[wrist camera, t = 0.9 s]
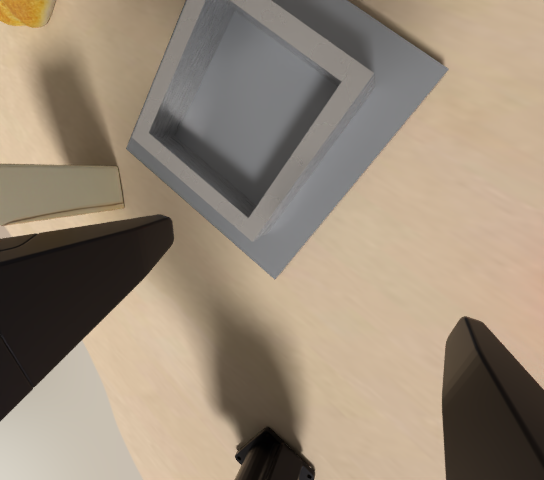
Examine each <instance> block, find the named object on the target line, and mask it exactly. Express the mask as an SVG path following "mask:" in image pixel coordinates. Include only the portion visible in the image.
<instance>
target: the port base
mask: <svg viewBox="0 0 544 480" xmlns="http://www.w3.org/2000/svg"><path fill="white" fill-rule="evenodd" d="M272 1H273V2H274V3H276V4H277V5H279V6H280V7H281V8H283V9H284V10H286V11H287V12H289V13H290V14H291V15H293V16H294V17H296V18H297V19H298V20H300V21H301V22H303V23H304V24H305V25H307V26H308V27H310V28H311V29H312V30H314V31H315V32H317V33H318V34H320V35H321V36H322V37H324V38H325V39H327V40H328V41H329V42H331V43H332V44H334V45H335V46H336V47H338V48H339V49H341V50H342V51H344V52H345V53H346V54H348V55H349V56H351V57H352V58H353V59H355V60H356V61H358V62H359V63H360V64H362V65H363V66H365V67H366V68H368V69H369V70H370V71H372V72H373V73H374V77H375V84H376V88H375V89H374V90H373V92H372V93H371V94H370V96H369V97H368V98H367V100H366V101H365V102H364V104H363V105H362V106H361V108H360V109H359V111H358V112H357V113H356V115H355V116H354V117H353V119H352V120H351V121H350V123H349V124H348V125H347V127H346V128H345V129H344V131H343V132H342V134H341V135H340V136H339V138H338V139H337V140H336V142H335V143H334V144H333V146H332V147H331V148H330V150H329V151H328V152H327V154H326V155H325V157H324V158H323V159H322V161H321V162H320V163H319V165H318V166H317V167H316V169H315V170H314V171H313V173H312V174H311V175H310V177H309V178H308V180H307V181H306V182H305V184H304V185H303V186H302V188H301V189H300V190H299V192H298V193H297V194H296V196H295V197H294V198H293V200H292V201H291V203H290V204H289V205H288V207H287V208H286V209H285V211H284V212H283V213H282V215H281V216H280V217H279V219H278V220H277V221H276V223H275V224H274V226H273V227H272V228H271V230H270V231H269V232H268V233H267V234H265V235H263V236H262V237H260V238H258V239H256V240H255V241H253V242H252V241H251V240H250V239H248V238H247V237H246V236H245V235H244V234H243V233H242V232H240V231H239V230H238V229H237V228H236V227H235V226H233V225H232V224H231V223H230V222H229V221H228V220H227V219H225V218H224V217H223V216H222V215H221V214H220V213H218V212H217V211H216V210H215V209H214V208H213V207H212V206H210V205H209V204H208V203H207V202H206V201H205V200H203V199H202V198H201V197H200V196H199V195H198V194H197V193H195V192H194V191H193V190H192V189H191V188H190V187H188V186H187V185H186V184H185V183H184V182H183V181H182V180H180V179H179V178H178V177H177V176H176V175H175V174H174V173H172V172H171V171H170V170H169V169H168V168H167V167H165V166H164V165H163V164H162V163H161V162H160V161H159V160H157V159H156V158H155V157H154V156H153V155H152V154H150V153H149V152H148V151H147V150H146V149H145V148H144V147H142V146H141V145H140V144H139V143H138V142H137V141H135V140H134V139H133V138H132V136H133V133H134V131H135V128H136V126H137V123H138V121H139V118H140V116H141V113H142V111H143V109H144V106H145V104H146V101H147V99H148V96H149V94H150V91H151V89H152V86H153V84H154V81H155V79H156V76H157V74H158V72H159V69H160V67H161V64H162V62H163V59H164V57H165V54H166V52H167V49H168V47H169V44H170V42H171V39H172V37H173V35H174V32H175V30H176V27H177V25H178V22H179V20H180V17H181V15H182V12H183V10H184V7H185V5H186V2H187V0H186V2H185V4H184V7H183V9H182V11H181V14H180V16H179V19H178V21H177V24H176V26H175V29H174V31H173V34H172V36H171V39H170V41H169V44H168V46H167V49H166V51H165V54H164V56H163V59H162V61H161V64H160V66H159V69H158V71H157V73H156V76H155V78H154V81H153V83H152V86H151V88H150V91H149V93H148V96H147V98H146V101H145V103H144V106H143V108H142V111H141V113H140V116H139V118H138V121H137V123H136V126H135V128H134V130H133V133H132V135H131V138H130V140H129V143H128V145H127V148H126V149H127V150H128V151H129V152H130V153H131V154H133V155H134V156H135V157H136V158H137V159H138V160H139V161H141V162H142V163H143V164H144V165H145V166H146V167H147V168H149V169H150V170H151V171H152V172H153V173H154V174H155V175H157V176H158V177H159V178H160V179H161V180H162V181H163V182H164V183H166V184H167V185H168V186H169V187H170V188H171V189H172V190H174V191H175V192H176V193H177V194H178V195H179V196H180V197H182V198H183V199H184V200H185V201H186V202H187V203H188V204H190V205H191V206H192V207H193V208H194V209H195V210H196V211H198V212H199V213H200V214H201V215H202V216H203V217H204V218H205V219H207V220H208V221H209V222H210V223H211V224H212V225H213V226H215V227H216V228H217V229H218V230H219V231H220V232H221V233H223V234H224V235H225V236H226V237H227V238H228V239H229V240H231V241H232V242H233V243H234V244H235V245H236V246H237V247H239V248H240V249H241V250H242V251H243V252H244V253H245V254H246V255H248V256H249V257H250V258H251V259H252V260H253V261H254V262H256V263H257V264H258V265H259V266H260V267H261V268H262V269H264V270H265V271H266V272H267V273H268V274H269V275H270V276H272V277H273V278H274V279H276V278H277V277H278V276H279V275H280V274H281V272H282V271H283V270H284V269H285V268H286V266H287V265H288V264H289V263H290V261H291V260H292V259H293V258H294V257H295V255H296V254H297V253H298V252H299V251H300V249H301V248H302V247H303V246H304V245H305V243H306V242H307V241H308V240H309V238H310V237H311V236H312V235H313V234H314V232H315V231H316V230H317V229H318V228H319V226H320V225H321V224H322V223H323V222H324V220H325V219H326V218H327V217H328V216H329V214H330V213H331V212H332V211H333V209H334V208H335V207H336V206H337V205H338V203H339V202H340V201H341V200H342V199H343V197H344V196H345V195H346V194H347V193H348V191H349V190H350V189H351V188H352V187H353V185H354V184H355V183H356V182H357V180H358V179H359V178H360V177H361V176H362V174H363V173H364V172H365V171H366V170H367V168H368V167H369V166H370V165H371V164H372V162H373V161H374V160H375V159H376V158H377V156H378V155H379V154H380V153H381V151H382V150H383V149H384V148H385V147H386V145H387V144H388V143H389V142H390V141H391V139H392V138H393V137H394V136H395V135H396V133H397V132H398V131H399V130H400V129H401V127H402V126H403V125H404V124H405V122H406V121H407V120H408V119H409V118H410V116H411V115H412V114H413V113H414V112H415V110H416V109H417V108H418V107H419V106H420V104H421V103H422V102H423V101H424V100H425V98H426V97H427V96H428V95H429V93H430V92H431V91H432V90H433V89H434V87H435V86H436V85H437V84H438V83H439V81H440V80H441V79H442V78H443V77H444V75H445V74H446V73H447V71H448V68H447V67H445V66H444V65H442V64H441V63H439V62H438V61H436V60H435V59H433V58H432V57H430V56H429V55H427V54H426V53H424V52H423V51H421V50H420V49H419V48H417V47H416V46H414V45H413V44H411V43H410V42H408V41H407V40H405V39H404V38H402V37H401V36H399V35H398V34H396V33H395V32H393V31H392V30H390V29H389V28H388V27H386V26H385V25H383V24H382V23H380V22H379V21H377V20H376V19H374V18H373V17H371V16H370V15H368V14H367V13H365V12H364V11H362V10H361V9H359V8H358V7H357V6H355V5H354V4H352V3H351V2H349V1H348V0H272ZM337 88H338V86H337V85H335V84H334V83H333V82H331V81H330V80H329V79H327V78H326V77H324V76H323V75H322V74H320V73H319V72H318V71H316V70H315V69H313V68H312V67H311V66H309V65H308V64H307V63H305V62H304V61H303V60H301V59H300V58H298V57H297V56H296V55H294V54H293V53H292V52H290V51H289V50H288V49H286V48H285V47H283V46H282V45H281V44H279V43H278V42H277V41H275V40H274V39H272V38H271V37H270V36H268V35H267V34H266V33H264V32H263V31H262V30H260V29H259V28H257V27H256V26H255V25H253V24H252V23H251V22H249V21H248V20H247V19H245V18H244V17H242V16H241V15H240V14H238V13H237V12H236V11H235V12H234V14H233V16H232V18H231V21H230V23H229V25H228V27H227V29H226V31H225V33H224V35H223V37H222V39H221V42H220V44H219V46H218V48H217V50H216V52H215V54H214V56H213V58H212V61H211V63H210V65H209V67H208V69H207V71H206V73H205V75H204V77H203V80H202V82H201V84H200V86H199V88H198V90H197V92H196V94H195V96H194V98H193V101H192V103H191V105H190V107H189V109H188V111H187V113H186V115H185V117H184V120H183V122H182V124H181V126H180V128H179V130H178V132H177V134H176V136H175V137H176V138H178V139H179V140H180V141H181V142H182V143H184V144H185V145H186V146H187V147H188V148H189V149H191V150H192V151H193V152H194V153H195V154H197V155H198V156H199V157H200V158H201V159H203V160H204V161H205V162H206V163H207V164H208V165H210V166H211V167H212V168H213V169H214V170H216V171H217V172H218V173H219V174H220V175H222V176H223V177H224V178H225V179H226V180H227V181H229V182H230V183H231V184H232V185H233V186H235V187H236V188H237V189H238V190H239V191H241V192H242V193H243V194H244V195H245V196H246V197H248V198H249V199H250V200H251V201H252V202H254V203H255V204H256V205H258V204H259V202H260V201H261V199H262V198H263V196H264V195H265V193H266V192H267V190H268V189H269V187H270V186H271V185H272V183H273V182H274V180H275V179H276V177H277V176H278V174H279V173H280V171H281V170H282V168H283V167H284V166H285V164H286V163H287V161H288V160H289V158H290V157H291V155H292V154H293V152H294V151H295V149H296V148H297V146H298V145H299V144H300V142H301V141H302V139H303V138H304V136H305V135H306V133H307V132H308V130H309V129H310V127H311V126H312V125H313V123H314V122H315V120H316V119H317V117H318V116H319V114H320V113H321V111H322V110H323V108H324V107H325V105H326V104H327V103H328V101H329V100H330V98H331V97H332V95H333V94H334V92H335V91H336V89H337Z"/></svg>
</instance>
